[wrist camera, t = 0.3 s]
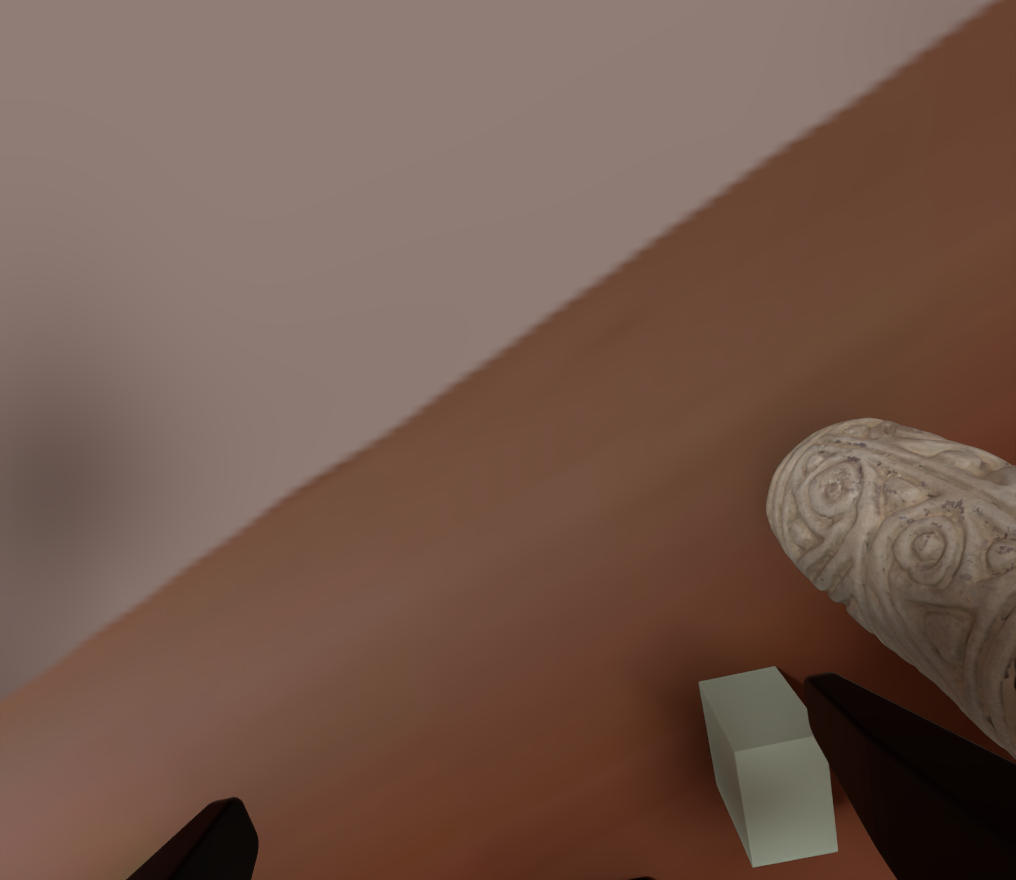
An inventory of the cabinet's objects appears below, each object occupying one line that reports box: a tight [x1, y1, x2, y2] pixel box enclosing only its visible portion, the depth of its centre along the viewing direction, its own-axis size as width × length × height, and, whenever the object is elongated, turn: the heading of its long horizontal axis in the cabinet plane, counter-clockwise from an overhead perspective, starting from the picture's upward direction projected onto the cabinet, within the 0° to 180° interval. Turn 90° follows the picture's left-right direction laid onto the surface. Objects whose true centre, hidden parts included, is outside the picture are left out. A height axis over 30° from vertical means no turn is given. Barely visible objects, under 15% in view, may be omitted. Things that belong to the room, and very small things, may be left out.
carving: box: [766, 418, 1016, 760], centre depth 16 cm, size 6×8×12 cm
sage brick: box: [698, 666, 838, 867], centre depth 23 cm, size 6×4×4 cm, turn 14°
